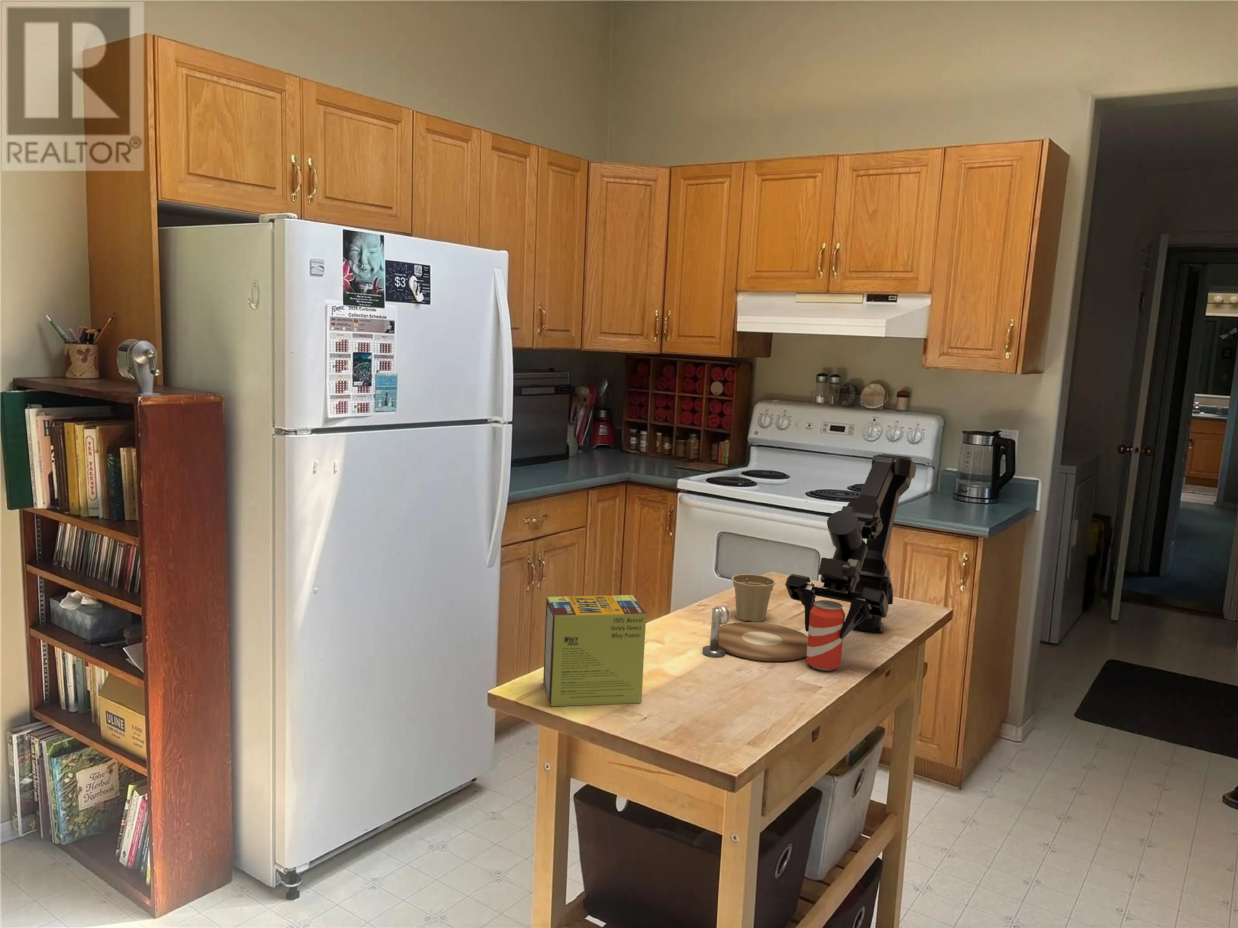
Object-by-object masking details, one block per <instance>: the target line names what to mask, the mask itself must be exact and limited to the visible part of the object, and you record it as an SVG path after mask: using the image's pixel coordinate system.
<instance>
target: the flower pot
mask: <svg viewBox="0 0 1238 928" xmlns="http://www.w3.org/2000/svg"><path fill="white" fill-rule="evenodd" d="M731 581H732V582H733V583H732V584H733V587H734V596H735V597H734V598H735V613H736V616H735V617H736V618H737V619H739V620H741V621H742V622H748V621H749V622H758V623H761V622H763V621H765V619H766V617H767V612H768V607H769V603H770V598H771V594H772V591H773V590H774V589H773V588H774V586H775V585H776V582H777V581H776V580H775V579H774V578H772V577H769V576H766V575H761V574H753V573H752V574H749V573H742V574H735V575H732V577H731Z"/></svg>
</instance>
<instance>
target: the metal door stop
mask: <svg viewBox="0 0 1238 928" xmlns="http://www.w3.org/2000/svg"><path fill="white" fill-rule="evenodd" d="M729 621H730V612H729V609H728V607H727V606H726V605H715V607H713V608H712V611H711V624H710V625H711V626H710V627H711V628H710V641H709V644H708V645H705V646H703V647H702V651H701V653H702V654H703V655H704V656H706V657H710V658H722V657H725V656H726V652H725V649H724V648H722V647H720V646H718V645H719V630H720V626H722V625H725V624H729Z"/></svg>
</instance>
